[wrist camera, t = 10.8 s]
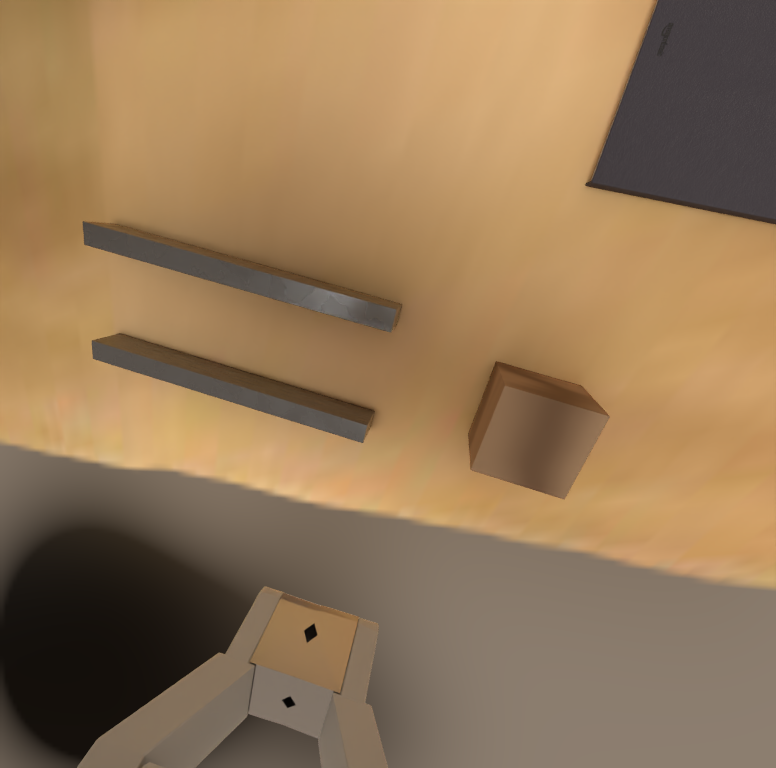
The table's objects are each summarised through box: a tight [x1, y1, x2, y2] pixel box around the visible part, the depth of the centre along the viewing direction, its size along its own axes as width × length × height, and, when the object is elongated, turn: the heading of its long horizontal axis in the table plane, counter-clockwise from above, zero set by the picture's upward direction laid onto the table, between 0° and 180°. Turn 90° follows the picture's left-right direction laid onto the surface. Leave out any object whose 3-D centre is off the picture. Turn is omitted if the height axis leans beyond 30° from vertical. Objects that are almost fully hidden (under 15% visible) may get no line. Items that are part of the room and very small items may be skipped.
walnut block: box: [468, 361, 610, 499], centre depth 24 cm, size 6×6×5 cm
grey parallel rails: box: [83, 221, 402, 443], centre depth 27 cm, size 22×10×2 cm, turn 76°
